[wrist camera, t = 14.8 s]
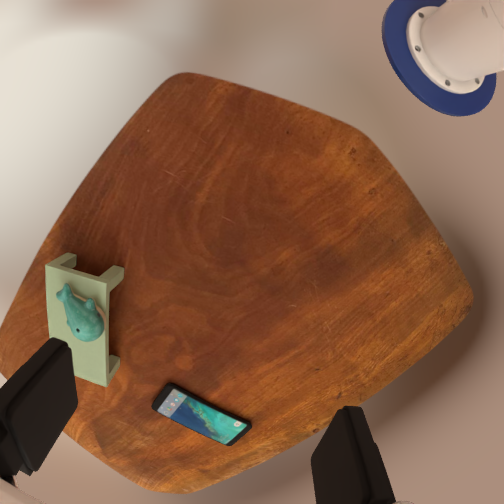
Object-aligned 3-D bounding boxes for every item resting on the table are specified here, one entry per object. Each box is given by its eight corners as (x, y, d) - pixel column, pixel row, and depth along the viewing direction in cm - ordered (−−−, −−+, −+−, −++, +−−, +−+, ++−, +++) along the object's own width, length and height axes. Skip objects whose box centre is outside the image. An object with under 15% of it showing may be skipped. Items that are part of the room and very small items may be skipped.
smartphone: (167, 383, 42) (254, 426, 44) (168, 380, 43) (254, 423, 45) (149, 408, 44) (230, 447, 46) (150, 405, 45) (230, 444, 47)
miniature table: (67, 252, 38) (45, 264, 33) (124, 267, 38) (106, 283, 33) (70, 347, 42) (53, 366, 37) (120, 365, 43) (106, 387, 37)
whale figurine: (91, 340, 35) (78, 356, 32) (54, 295, 34) (38, 308, 30) (118, 319, 34) (105, 335, 31) (78, 270, 33) (62, 282, 29)
